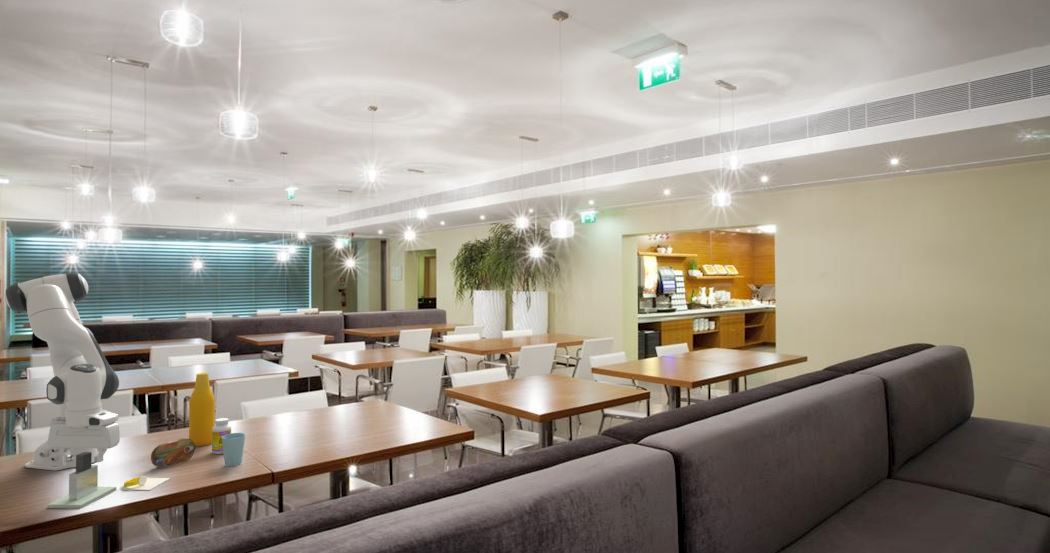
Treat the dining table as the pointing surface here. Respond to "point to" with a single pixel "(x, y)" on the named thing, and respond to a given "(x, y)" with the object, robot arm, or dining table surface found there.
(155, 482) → the face down mat
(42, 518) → the dining table surface
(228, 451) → the cup
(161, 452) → the tin
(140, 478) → the yellow ring
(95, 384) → the robot arm
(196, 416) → the yellow bottle
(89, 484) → the grey upright panel
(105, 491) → the plate
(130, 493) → the dining table surface
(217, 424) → the supplement bottle
